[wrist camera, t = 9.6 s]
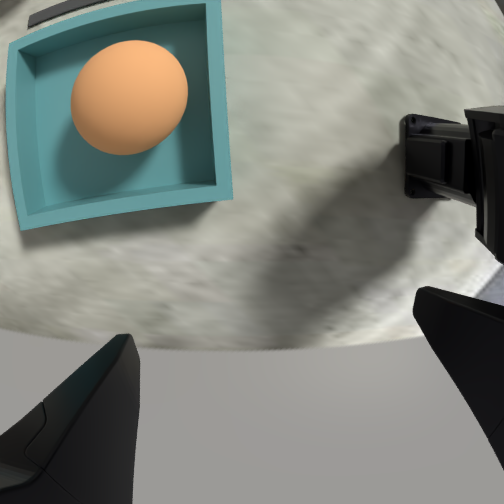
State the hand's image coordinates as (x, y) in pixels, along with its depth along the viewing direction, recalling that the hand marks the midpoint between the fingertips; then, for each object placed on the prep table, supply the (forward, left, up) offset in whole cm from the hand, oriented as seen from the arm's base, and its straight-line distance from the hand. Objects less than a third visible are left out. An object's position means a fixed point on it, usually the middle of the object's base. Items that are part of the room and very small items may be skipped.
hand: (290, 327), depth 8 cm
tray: (+7, -8, -12) cm, 16 cm away
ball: (+5, -8, -8) cm, 13 cm away
